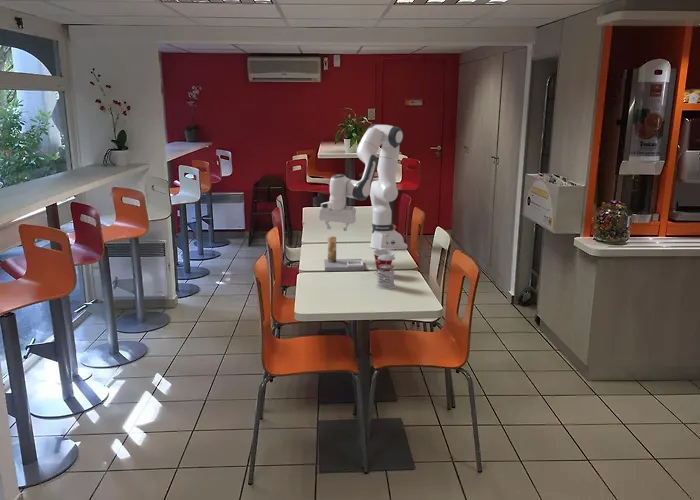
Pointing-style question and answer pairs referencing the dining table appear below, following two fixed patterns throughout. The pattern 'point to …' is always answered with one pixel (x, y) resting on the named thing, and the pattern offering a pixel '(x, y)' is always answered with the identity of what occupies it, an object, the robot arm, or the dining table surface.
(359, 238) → the dining table surface
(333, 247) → the oak column
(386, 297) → the dining table surface
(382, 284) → the french press
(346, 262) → the board
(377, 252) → the plastic cup
